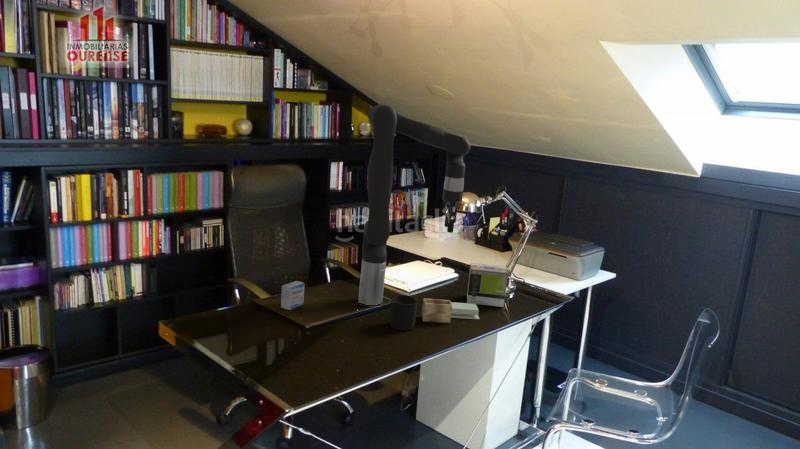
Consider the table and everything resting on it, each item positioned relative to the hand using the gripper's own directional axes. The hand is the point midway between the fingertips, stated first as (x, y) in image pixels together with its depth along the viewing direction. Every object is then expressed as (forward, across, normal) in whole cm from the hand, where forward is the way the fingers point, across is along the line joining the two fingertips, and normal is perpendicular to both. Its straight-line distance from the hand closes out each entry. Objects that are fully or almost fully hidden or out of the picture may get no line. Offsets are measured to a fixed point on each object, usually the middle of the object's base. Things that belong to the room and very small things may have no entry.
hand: (448, 229), depth 235 cm
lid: (+29, +12, +7) cm, 32 cm away
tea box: (+30, -4, +19) cm, 36 cm away
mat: (+30, +12, +7) cm, 33 cm away
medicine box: (+30, +15, -57) cm, 66 cm away
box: (+30, +19, -4) cm, 36 cm away
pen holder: (+30, +27, -17) cm, 44 cm away
